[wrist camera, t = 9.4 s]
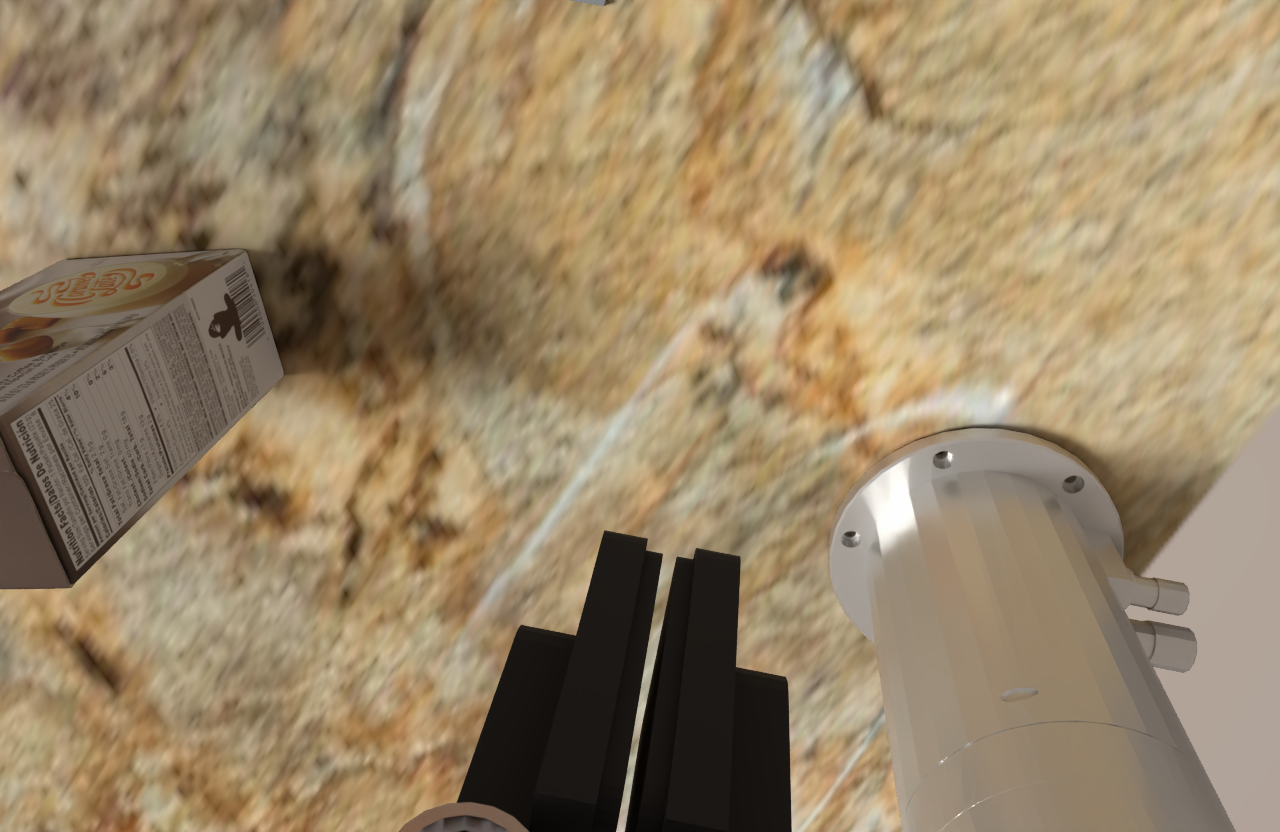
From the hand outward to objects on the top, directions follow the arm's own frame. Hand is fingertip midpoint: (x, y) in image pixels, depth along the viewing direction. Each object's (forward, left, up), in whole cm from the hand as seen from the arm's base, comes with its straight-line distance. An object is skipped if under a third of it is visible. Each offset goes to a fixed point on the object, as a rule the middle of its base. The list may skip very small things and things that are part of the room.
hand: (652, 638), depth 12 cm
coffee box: (+23, +12, -29) cm, 39 cm away
